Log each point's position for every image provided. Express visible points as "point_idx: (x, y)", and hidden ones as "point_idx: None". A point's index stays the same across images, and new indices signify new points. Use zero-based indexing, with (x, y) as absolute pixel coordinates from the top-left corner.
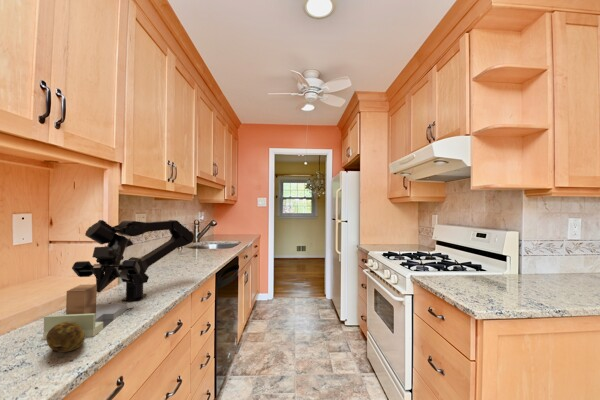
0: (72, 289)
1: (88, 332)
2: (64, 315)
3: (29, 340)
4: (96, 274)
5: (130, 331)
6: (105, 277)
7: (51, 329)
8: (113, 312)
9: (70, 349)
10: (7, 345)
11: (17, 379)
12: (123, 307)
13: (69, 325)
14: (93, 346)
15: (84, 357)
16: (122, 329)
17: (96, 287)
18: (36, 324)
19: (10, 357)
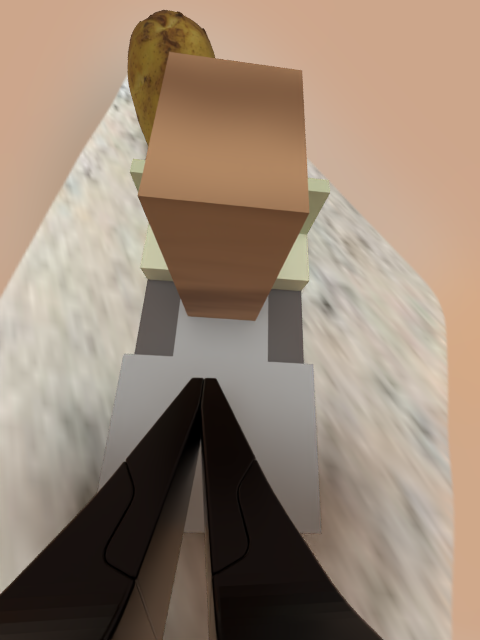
0: (285, 96)
1: None
2: None
3: (334, 243)
4: (315, 595)
5: (43, 239)
6: (114, 512)
7: (198, 25)
8: (129, 368)
9: None
10: (368, 226)
11: None
12: (105, 471)
13: (148, 17)
14: None
15: (134, 131)
16: (75, 261)
17: (149, 218)
18: (415, 367)
19: (307, 168)
